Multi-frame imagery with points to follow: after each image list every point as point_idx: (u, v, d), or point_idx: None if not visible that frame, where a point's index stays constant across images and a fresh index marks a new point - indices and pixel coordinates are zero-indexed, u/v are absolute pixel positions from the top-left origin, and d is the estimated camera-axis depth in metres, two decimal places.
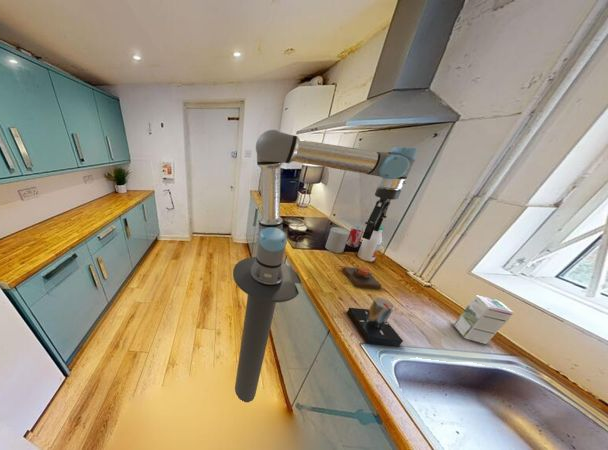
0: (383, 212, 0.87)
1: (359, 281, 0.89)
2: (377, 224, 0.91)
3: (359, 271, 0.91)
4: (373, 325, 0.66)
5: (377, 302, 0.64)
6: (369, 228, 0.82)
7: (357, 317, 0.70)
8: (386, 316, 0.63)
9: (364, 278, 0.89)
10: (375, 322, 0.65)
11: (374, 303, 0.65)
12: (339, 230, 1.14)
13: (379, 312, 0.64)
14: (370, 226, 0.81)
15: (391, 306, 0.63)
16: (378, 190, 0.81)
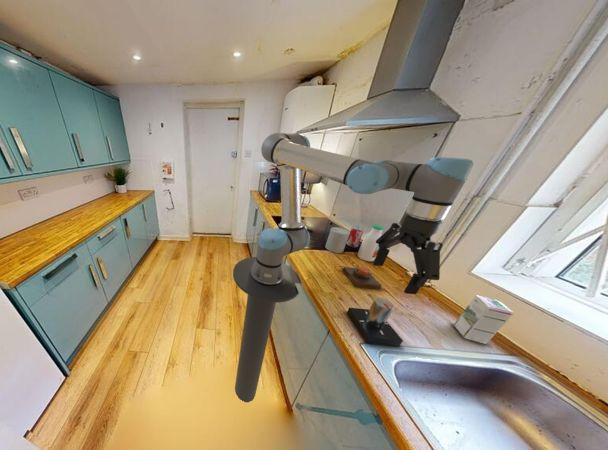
0: (395, 244, 0.63)
1: (359, 281, 0.89)
2: (382, 258, 0.68)
3: (359, 271, 0.91)
4: (373, 325, 0.66)
5: (377, 302, 0.64)
6: (423, 282, 0.53)
7: (357, 317, 0.70)
8: (386, 316, 0.63)
9: (364, 278, 0.89)
10: (375, 322, 0.65)
11: (374, 303, 0.65)
12: (339, 230, 1.14)
13: (379, 312, 0.64)
14: (425, 279, 0.53)
15: (391, 306, 0.63)
16: (419, 223, 0.53)
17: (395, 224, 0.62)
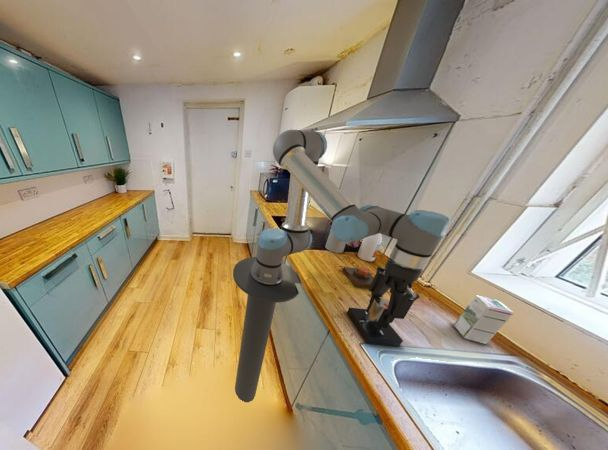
0: (385, 290, 0.65)
1: (359, 281, 0.89)
2: None
3: (359, 271, 0.91)
4: (373, 325, 0.66)
5: (377, 302, 0.64)
6: (391, 319, 0.61)
7: (357, 317, 0.70)
8: None
9: (364, 278, 0.89)
10: (375, 322, 0.65)
11: (374, 303, 0.65)
12: None
13: (379, 312, 0.64)
14: None
15: None
16: (401, 271, 0.56)
17: (379, 268, 0.66)
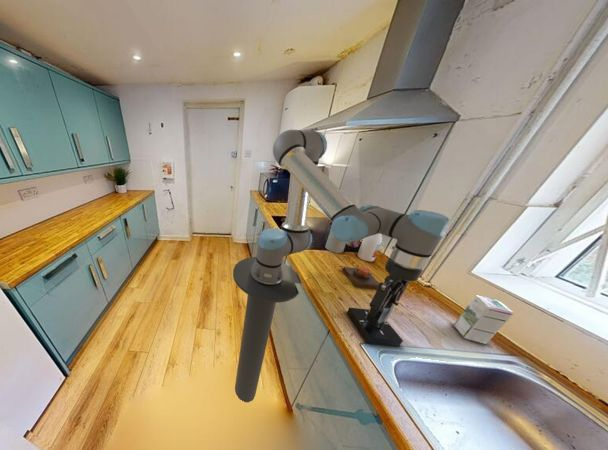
0: None
1: (359, 281, 0.89)
2: None
3: (359, 271, 0.91)
4: None
5: (391, 307, 0.62)
6: None
7: (357, 317, 0.70)
8: None
9: (364, 278, 0.89)
10: None
11: (391, 311, 0.62)
12: None
13: None
14: None
15: None
16: None
17: (389, 287, 0.57)
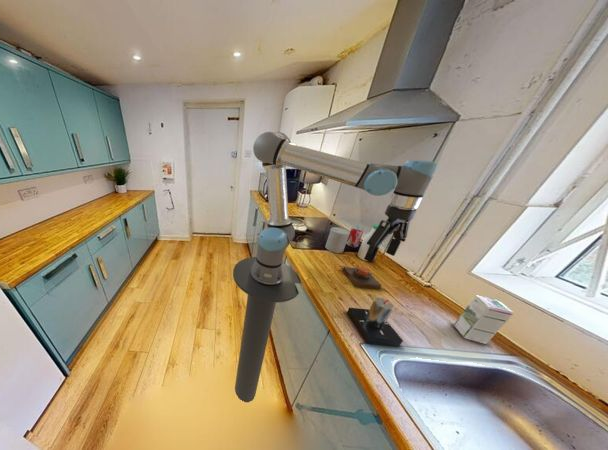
0: None
1: (359, 281, 0.89)
2: None
3: (359, 271, 0.91)
4: None
5: (391, 307, 0.62)
6: None
7: (357, 317, 0.70)
8: None
9: (364, 278, 0.89)
10: None
11: (391, 311, 0.62)
12: (339, 230, 1.14)
13: None
14: None
15: (381, 299, 0.66)
16: None
17: None
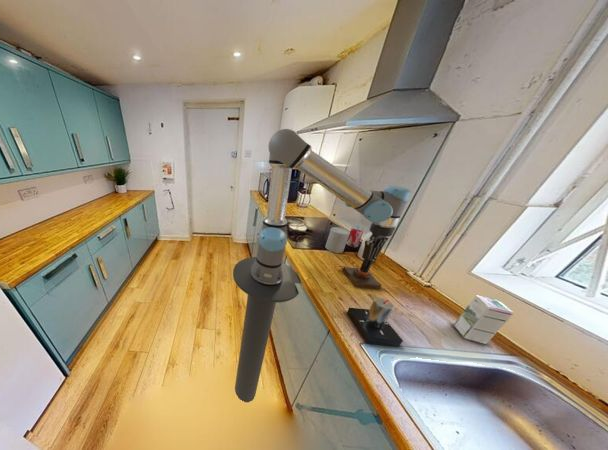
0: None
1: (359, 281, 0.89)
2: None
3: None
4: None
5: (391, 307, 0.62)
6: None
7: (357, 317, 0.70)
8: None
9: (364, 278, 0.89)
10: None
11: (391, 311, 0.62)
12: (339, 230, 1.14)
13: None
14: None
15: (381, 299, 0.66)
16: None
17: (372, 242, 0.81)
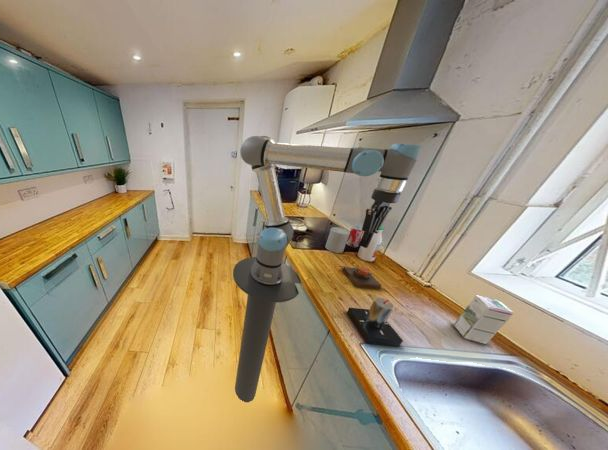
0: None
1: (359, 281, 0.89)
2: None
3: (359, 271, 0.91)
4: None
5: (391, 307, 0.62)
6: None
7: (357, 317, 0.70)
8: None
9: (364, 278, 0.89)
10: None
11: (391, 311, 0.62)
12: (339, 230, 1.14)
13: None
14: None
15: (381, 299, 0.66)
16: None
17: (374, 211, 0.71)
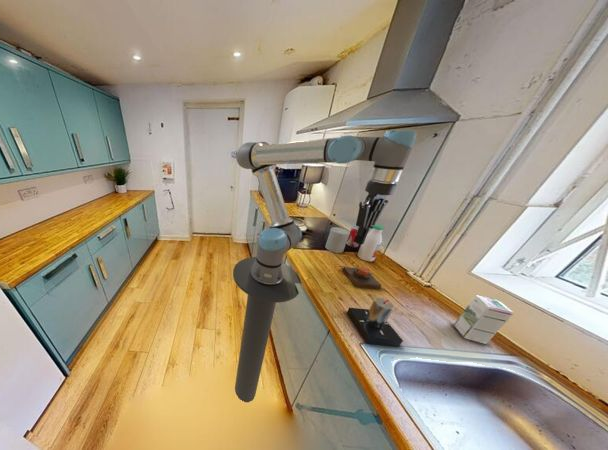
0: None
1: (359, 281, 0.89)
2: None
3: (359, 271, 0.91)
4: None
5: (391, 307, 0.62)
6: None
7: (357, 317, 0.70)
8: None
9: (364, 278, 0.89)
10: None
11: (391, 311, 0.62)
12: (339, 230, 1.14)
13: None
14: None
15: (381, 299, 0.66)
16: None
17: (367, 204, 0.66)
